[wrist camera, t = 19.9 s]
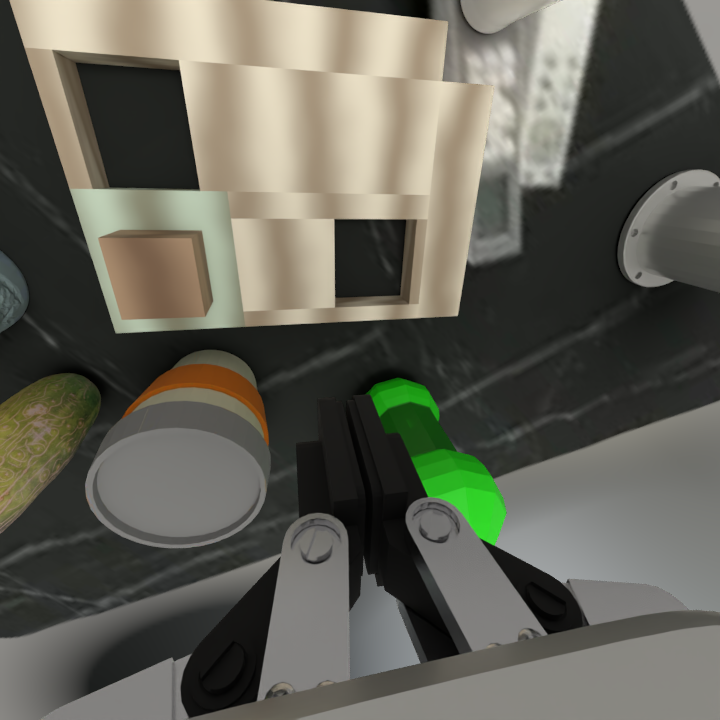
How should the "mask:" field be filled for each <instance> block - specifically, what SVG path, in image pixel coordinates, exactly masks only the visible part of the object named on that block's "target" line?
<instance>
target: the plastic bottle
mask: <svg viewBox="0 0 720 720" xmlns="http://www.w3.org/2000/svg"><path fill="white" fill-rule="evenodd" d="M366 394H370V395H371V397H372V400H373V402H374V405H375V407H376V410H377V412H378V415H379V418H380V420H381V423H382V425H383V428H384V430H385V433H386V434H387V433H397V432H398V433H399V434H400V435H401V437H402V439H403V441H404V444H405V446H406V448H407V450H408V453H409V455H410V457H411V459H412V462H413V464H414V466H415V468H416V471H417V473H418V475H419V477H420V480H421V482H422V484H423V486H424V488H425V491H426V493H427V495H428V497H433V498H440V499H442V500H445V501H448V502H449V503H451V504H452V505H454V506H455V507H456V508H457V509H458V510H459V511H460V512H461V513H462V514H463V516H464V517H465V519H466V520H467V522H468V523H469V524H470V526H471V527H472V529H473V530H474V531H475V533H476V534H477V536H478V537H479V538H481V539H483V540H484V541H486V542H488V543H490V544H492V545H495V543H496V540H497V538H498V536H499V533H500V530H501V527H502V525H503V521H504V519H505V516H506V508H505V504H504V499H503V497H502V495H501V493H500V491H499V489H498V488H497V486H496V484H495V482H494V480H493V478H492V476H491V475H490V473H489V472H488V471H487V469H486V468H485V466H484V465H483V464H482V463H481V462H480V461H479V460H477V459H476V458H475V457H474V456H471V455H467V454H463V453H459V452H457V451H456V449H455V448H454V446H453V444H452V443H451V441H450V440H449V438H448V437H447V435H446V433H445V432H444V430H443V429H442V427H441V426H440V424H439V422H438V421H439V409H438V407H437V405H436V404H435V402H434V400H433V398H432V397H431V395H430V393H429V391H428V390H427V388H426V387H425V386H423V385H421V384H418V383H415V382H412V381H408V380H405V379H402V378H399V377H398V378H395V379H391V380H388V381H384V382H381V383H377V384H375V385H374V386H373V387H372V388H371V389H370V390H369V391H368V392H367V393H366ZM366 394H365V395H366Z"/></svg>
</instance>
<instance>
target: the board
mask: <svg viewBox="0 0 720 720" xmlns="http://www.w3.org/2000/svg"><path fill="white" fill-rule="evenodd" d="M10 3H11V6H12V9H13V13H14V16H15V19H16V22H17V25H18V28H19V31H20V34H21V38H22V41H23V44H24V47H25V50H26V53H27V56H28V60H29V63H30V66H31V69H32V72H33V75H34V78H35V81H36V85H37V88H38V91H39V94H40V97H41V100H42V103H43V107H44V110H45V113H46V116H47V119H48V122H49V125H50V128H51V132H52V135H53V138H54V141H55V144H56V147H57V150H58V153H59V157H60V160H61V163H62V166H63V169H64V172H65V175H66V179H67V182H68V185H69V188H70V191H71V194H72V197H73V200H74V204H75V207H76V210H77V213H78V216H79V219H80V222H81V226H82V229H83V232H84V235H85V238H86V241H87V244H88V247H89V251H90V254H91V257H92V260H93V263H94V266H95V269H96V273H97V276H98V279H99V282H100V285H101V288H102V291H103V294H104V298H105V301H106V304H107V307H108V310H109V313H110V316H111V319H112V323H113V326H114V329H115V332H116V333H130V332H150V331H170V330H190V329H209V328H229V327H249V326H269V325H289V324H308V323H328V322H348V321H368V320H388V319H407V318H427V317H447V316H458V311H459V305H460V298H461V292H462V286H463V280H464V274H465V267H466V261H467V255H468V249H469V243H470V236H471V230H472V224H473V218H474V212H475V205H476V199H477V193H478V187H479V180H480V174H481V168H482V162H483V156H484V149H485V143H486V137H487V131H488V125H489V118H490V112H491V106H492V100H493V94H494V87H495V86H492V85H480V84H468V83H456V82H443V81H442V77H443V67H444V58H445V48H446V39H447V29H448V21H440V20H431V19H423V18H414V17H405V16H397V15H388V14H379V13H371V12H362V11H353V10H345V9H336V8H327V7H319V6H310V5H301V4H293V3H284V2H275V1H267V0H10ZM75 62H77V63H90V64H103V65H116V66H129V67H142V68H155V69H168V70H180V71H181V77H182V84H183V90H184V96H185V102H186V108H187V114H188V120H189V126H190V132H191V138H192V144H193V150H194V156H195V162H196V168H197V174H198V180H199V186H200V189H157V188H109V184H108V180H107V177H106V173H105V169H104V166H103V162H102V158H101V155H100V151H99V147H98V144H97V140H96V136H95V133H94V129H93V125H92V122H91V118H90V114H89V111H88V107H87V103H86V99H85V96H84V92H83V88H82V85H81V81H80V77H79V74H78V70H77V66H76V63H75ZM334 219H406V230H405V243H404V255H403V268H402V281H401V293H400V296H373V297H347V298H335V244H334ZM118 230H202V234H203V240H204V246H205V252H206V259H207V265H208V271H209V277H210V284H211V290H212V296H213V303H212V305H211V307H210V309H209V311H208V313H207V315H206V317H192V318H163V319H134V320H122V319H121V316H120V312H119V309H118V305H117V302H116V299H115V295H114V292H113V288H112V285H111V281H110V278H109V275H108V271H107V268H106V264H105V261H104V257H103V254H102V251H101V247H100V244H99V240H98V238H99V237H101V236H104V235H107V234H110V233H113V232H115V231H118Z"/></svg>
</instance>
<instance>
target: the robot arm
mask: <svg viewBox="0 0 720 720" xmlns="http://www.w3.org/2000/svg"><path fill="white" fill-rule="evenodd" d="M617 256H618V264H619V267H620V270H621V272H622V274H623V275H624V276H625V278H626V279H628V280H629V281H630V282H632V283H635V284H637V285H640V286H645V287H657V286H661V285H665V284H668V283H670V282H672V281H674V280H675V281H679V282H682V283H686V284H690V285H693V286H697V287H701V288H705V289H708V290H712V291H716V292H719V293H720V179H719V178H718V177H717V175H715V174H713V173H712V172H710V171H706V170H701V169H699V170H684V171H679V172H677V173H674V174H672V175H670V176H667V177H666V178H664V179H663V180H661V181H660V182H658V183H657V184H656V185H654V186H653V187H652V188H651V189H650V190H649V191H647V193H646V194H645V195H644V196H643V197H642V198H641V199H640V200H639V201H638V203H637V204H636V206H635V207H634V209H633V210H632V211H631V213H630V215H629V217H628V219H627V220H626V222H625V224H624V227H623V230H622V232H621V235H620V239H619V244H618V255H617ZM317 405H318V432H319V441H311V442H302V443H296V454H297V476H298V498H299V519H298V520H297V521H295V522H294V523H293V524H292V525H291V526H290V528H289V529H288V531H287V532H286V535H285V538H284V541H283V547H282V553H281V557H280V558H279V559H278V560H277V561H276V562H275V563H274V564H273V565H272V566H271V568H270V569H269V570H268V571H267V572H266V573H265V574H264V575H263V576H262V577H261V578H260V579H259V580H258V582H257V583H256V584H255V585H254V586H253V587H252V588H251V589H250V590H249V591H248V592H247V593H246V594H245V595H244V596H243V598H242V599H241V600H240V601H239V602H238V603H237V604H236V605H235V606H234V607H233V608H232V609H231V610H230V612H229V613H228V614H227V615H226V616H225V617H224V618H223V619H222V620H221V621H220V622H219V624H218V625H216V627H215V628H214V629H213V630H212V631H211V632H210V633H209V634H208V635H207V636H206V637H205V638H204V639H203V640H202V642H201V643H200V644H199V645H198V647H197V648H196V649H195V651H194V652H193V653H192V654H191V655H188V656H186V657H184V658H182V659H179V660H177V661H175V662H174V661H173V659H172V658H170V659H168V660H165V661H163V662H161V663H159V664H156V665H154V666H152V667H150V668H147V669H145V670H143V671H141V672H138V673H136V674H134V675H132V676H129V677H127V678H125V679H123V680H120V681H118V682H116V683H114V684H111V685H109V686H107V687H105V688H102V689H100V690H98V691H96V692H93V693H91V694H89V695H87V696H84V697H82V698H80V699H78V700H75V701H73V702H71V703H69V704H66V705H64V706H62V707H60V708H58V709H56V710H55V711H53V712H51V713H50V714H48V715H46V716H45V717H43V718H42V719H40V720H720V612H715V611H702V610H688V608H687V607H686V606H685V605H684V604H683V603H682V602H681V601H679V600H678V599H677V598H676V597H674V596H672V594H670V593H668V592H666V591H664V590H663V589H660V588H659V587H656V586H651V585H647V584H636V583H621V582H607V581H592V580H578V579H568V580H567V582H566V583H561V582H560V581H558V580H557V579H555V578H554V577H552V576H550V575H549V574H547V573H545V572H543V571H541V570H539V569H537V568H536V567H533V566H532V565H530V564H528V563H526V562H524V561H522V560H520V559H519V558H517V557H515V556H513V555H511V554H509V553H507V552H505V551H503V550H501V549H500V548H498V547H496V546H494V545H492V544H490V543H488V542H486V541H484V540H483V539H481V538H479V537H478V536H477V534H476V533H475V531H474V530H473V529H472V527H471V526H470V524H469V523H468V522H467V520H466V519H465V517H464V516H463V514H462V513H461V512H460V511H459V510H458V509H457V508H456V507H455V506H454V505H452V504H451V503H449V502H448V501H445V500H442V499H440V498H433V497H428V495H427V493H426V491H425V488H424V486H423V484H422V482H421V480H420V477H419V475H418V473H417V471H416V468H415V466H414V464H413V462H412V459H411V457H410V455H409V453H408V450H407V448H406V446H405V444H404V441H403V439H402V437H401V435H400V434H399V433H398V432H397V433H387V434H386V433H385V430H384V428H383V425H382V423H381V420H380V418H379V415H378V412H377V410H376V407H375V405H374V402H373V400H372V397H371V395H370V394H366V395H355V396H353V397H352V400H349V401H347V402H346V415H345V411H344V407H343V403H342V401H338V402H336V400H335V397H331V398H319V399H317ZM363 556H364V559H365V564H366V569H367V572H368V574H369V575H370V574H375V577H376V582H377V586H384V588H385V591H386V592H388V593H390V594H391V595H393V596H394V597H395V598H396V602H397V606H398V609H399V612H400V614H401V617H402V619H403V621H404V624H405V626H406V629H407V631H408V634H409V636H410V638H411V641H412V643H413V646H414V648H415V651H416V653H417V655H418V658H419V661H420V663H421V664H416V665H412V666H408V667H403V668H399V669H394V670H390V671H386V672H381V673H377V674H373V675H369V676H364V677H360V678H355V679H351V680H350V657H349V656H350V652H349V611H350V610H351V608H352V607H353V605H354V604H355V602H356V601H357V599H358V598H359V596H360V587H361V576H362V574H363Z"/></svg>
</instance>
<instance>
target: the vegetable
mask: <svg viewBox="0 0 720 720" xmlns="http://www.w3.org/2000/svg"><path fill="white" fill-rule="evenodd" d="M100 405H101V396H100V392H99V390H98V388H97V387H96V386H95V385H94V384H93V383H92V382H91V381H90V380H88V379H87V378H85V377H83V376H81V375H77V374H72V373H61V374H55V375H51V376H48V377H45V378H42V379H40V380H38V381H37V382H35V383H33V384H31V385H29V386H28V387H26V388H24V389H22V390H21V391H20V392H18V393H17V394H15V395H14V396H12V397H11V398H9V399H8V400H6V401H5V402H4V403H2V404H1V405H0V533H2V532H3V531H4V530H5V529H6V528H7V527H8V526H9V525H10V524H11V523H12V522H14V521H15V520H16V519H17V518H18V517H19V516H20V515H21V514H22V513H23V512H24V511H25V509H26V508H27V507H28V506H29V505H30V504H31V503H32V502H33V501H34V499H35V498H36V497H37V496H38V495H39V494H40V493H41V491H42V490H43V489H44V488H45V487H46V486H47V485H48V484H49V483H50V482H51V481H53V480H54V479H55V477H56V476H57V475H58V474H59V473H60V472H61V470H62V469H63V468H64V467H65V466H66V465H67V463H68V462H69V461H70V460H71V458H72V457H73V456H74V454H75V453H76V451H77V450H78V448H79V447H80V445H81V443H82V441H83V440H84V438H85V436H86V434H87V433H88V431H89V429H90V428H91V426H92V425H93V423H94V421H95V419H96V417H97V415H98V413H99V410H100Z"/></svg>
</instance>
